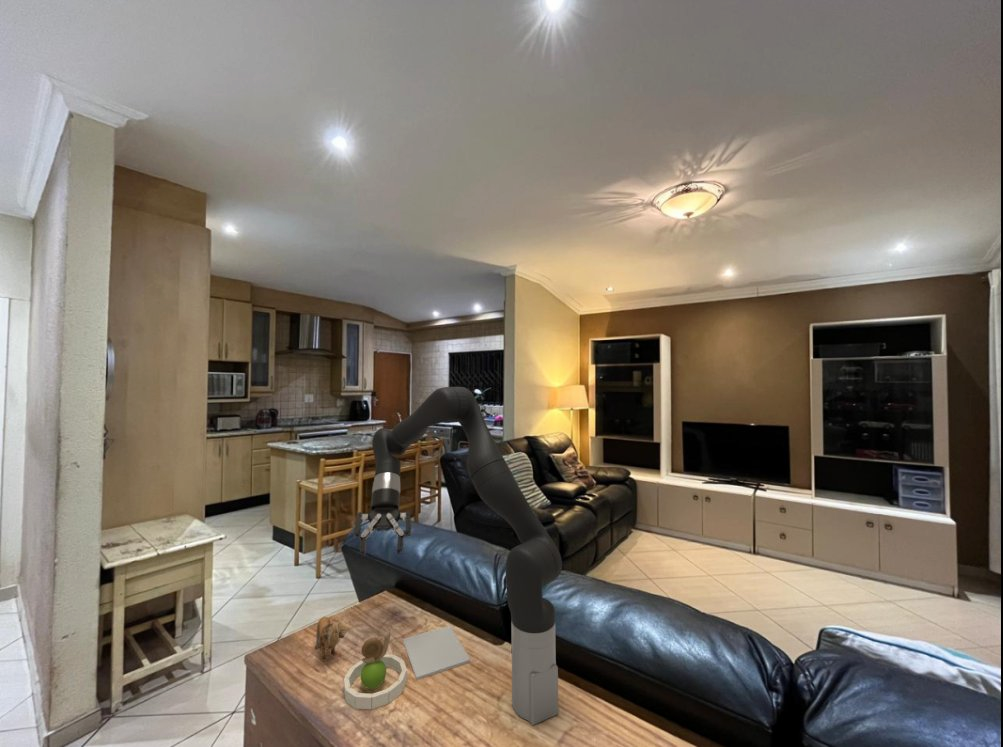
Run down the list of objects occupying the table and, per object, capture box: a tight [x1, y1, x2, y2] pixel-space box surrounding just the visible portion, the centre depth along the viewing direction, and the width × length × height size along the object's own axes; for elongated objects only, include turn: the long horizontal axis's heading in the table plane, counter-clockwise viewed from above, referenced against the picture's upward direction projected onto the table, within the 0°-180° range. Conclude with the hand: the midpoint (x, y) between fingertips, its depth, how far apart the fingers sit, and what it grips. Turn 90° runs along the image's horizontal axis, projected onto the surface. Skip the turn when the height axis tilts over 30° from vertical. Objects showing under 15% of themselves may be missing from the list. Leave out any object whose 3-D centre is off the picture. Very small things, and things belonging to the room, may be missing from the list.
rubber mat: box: [402, 625, 471, 681], centre depth 99 cm, size 15×13×1 cm
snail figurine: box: [360, 626, 392, 690], centre depth 88 cm, size 5×6×12 cm
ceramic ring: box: [343, 653, 408, 710], centre depth 88 cm, size 13×13×2 cm
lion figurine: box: [314, 616, 348, 663], centre depth 100 cm, size 15×5×9 cm, turn 44°
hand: (381, 553), depth 100 cm, fingers open, 8 cm apart
